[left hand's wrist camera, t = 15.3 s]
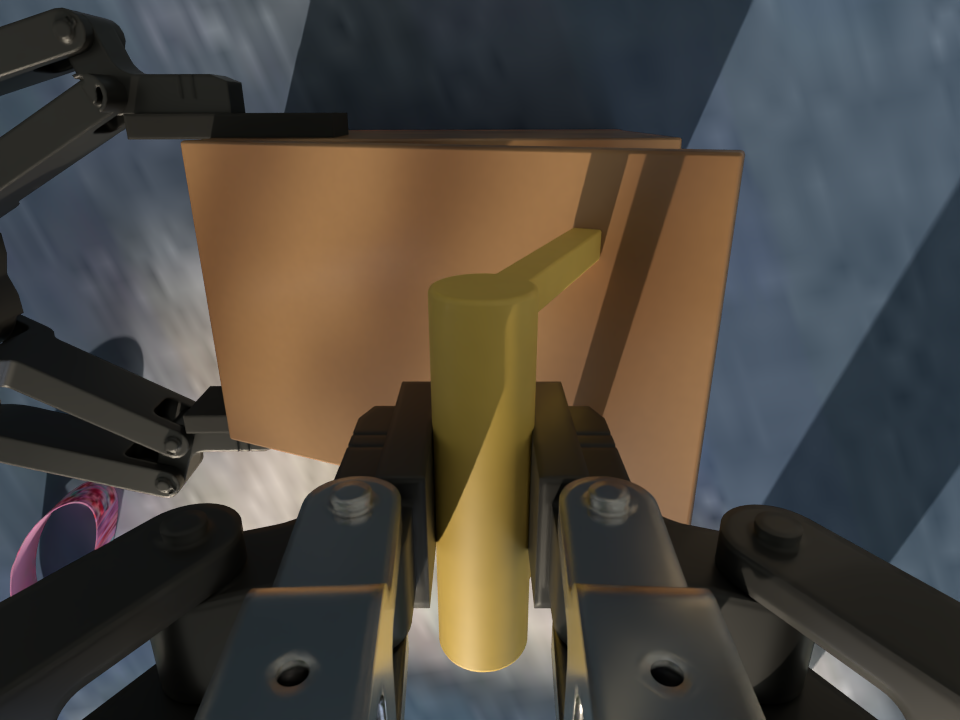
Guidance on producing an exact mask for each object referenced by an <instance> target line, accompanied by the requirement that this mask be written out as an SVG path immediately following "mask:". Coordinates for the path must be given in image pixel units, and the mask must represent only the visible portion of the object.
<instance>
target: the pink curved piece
mask: <svg viewBox="0 0 960 720" xmlns="http://www.w3.org/2000/svg"><path fill="white" fill-rule="evenodd" d="M72 503H81V504H84V505H86V506H88V507H89V508H90V509H91V511H92V512H93V514H94V517H95V521H96V545H95V550H96V549H98V548H99V547H101V546H103V545H105V544H107V543H108V542H110V541H112V540H113V539H114V534H115V529H116V523H117V515H118V497H117V493H116V490H115V488H114V487H112V486H107V485H103V484H98V483H93V482H89V481H88V482H86V483H84V484H82V485H80V486H78V487H76V488H75V489H73V490H72V491H71V492H70V493H68V494H67V495H66V496H65V497H64V498H63V499H62V500H61V501H60V502H59V503H58V504H57V505H56V506H55V507H54V508H52V509H51V510H50V511H49V512H48V513H47V514H46V515H45V516H44V517H43V518H42V519H41V520H40V521H39V522H38V523H37V524H36V525H35V526H34V527H33V529H32V530H31V531H30V532H29V534H28V535H27V537H26V538H25V540H24V542H23V543H22V545H21V547H20V549H19V551H18V554H17V556H16V559H15V562H14V564H13V566H12V570H11V583H10V596H13V595H14V594H16V593H18V592H20V591H22V590H23V589H25V588H27V587H29V586H31V585H32V584H34V583H36V582H37V578H36V552H37V547H38V542H39V539H40V536H41V533H42V530H43V528H44V526H45V524H46V522H47V520H48V518H49V517H50V515H51V514H52V512H53V511H54V510H56V509H58V508H60V507H62V506H64V505H67V504H72Z"/></svg>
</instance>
